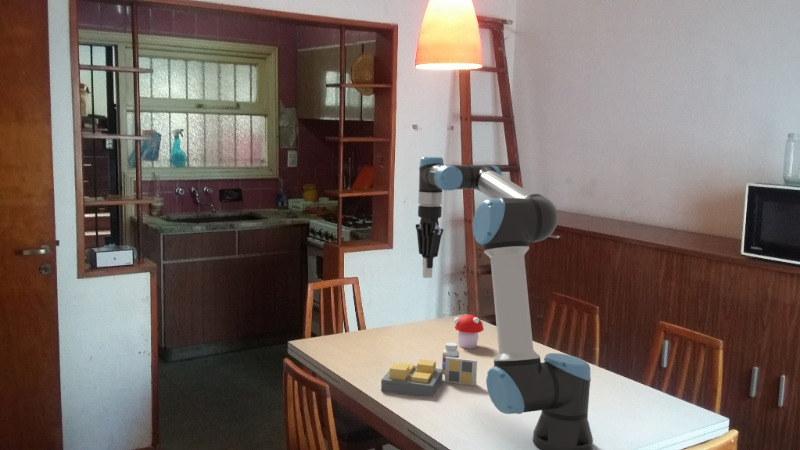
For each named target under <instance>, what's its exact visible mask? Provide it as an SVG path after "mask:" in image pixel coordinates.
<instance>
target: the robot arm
mask: <svg viewBox="0 0 800 450" xmlns="http://www.w3.org/2000/svg"><path fill="white" fill-rule="evenodd" d="M444 163H445V162H444V158H443V157H439V156H422V157H420V161H419V167H418V169H419V170H418V171H419V173H418V175H419V176H418V177H419V178H418V199H417V201H418V202H417V203H418V204H419V205H418V207H417V210H418V211H417V216H418V217H419V218H420V220H419V223H417V224H415V229H416V235H417V237H416V238H417V245H418V246H417V247H418V248H417V249H418V254H419V255H421V256H422V278H424V279H429V278H431V279H432V278H433V267H434V259H435V258H437V257H438V256H439V250H440V246H441V245H440V244H441V239H442V235H443V233H444V229H443V228H440V223H439V219H441V217H442V213H443V212H442V210H443V209H442V206H441V205H442V204H443V203H442V201H443V191H444V192H445V191H446V192H447V191H449V192H450V191H455V190H476V191H478V192H480V193H482V194H484V195H485V196H486V197H488V199H485V200H483V201H481V202H480V204H478V206H477V208H476V211H475V213H474V215H473V220H472V221H473V222H472V234H473V237H474V239H475V242H476V243H477V244H479V245H481V246H483V253H484V254H485V255H486V256H487V257H489V258H490V269H491V270H490V271H491V279H492V291H493V301H494V311H495V313H494V314H495V323H496V333H497V344H498V353H497V354H496V356H495V357H494V358H493V366H492V367H490V368H489V369H488V370H487V374H486V375H487V376H486V382H485V383H486V390H487V394H488V395H489V399H490V400H491V402H492V404H493V405H494V407H495V409H497V410H498V411H499V412H500V413H502V414H505V415H513V414H516V415H517V414H518V415H521V414H523V413H531V412H537V411H541V412H540V415H539V417H538V420H537V422H536V425H535V427H534V430H533V436H532V442H533V444H534V445H535V447H537V448H538V449H539V450H593V446H594V445H593V444H594V438H593V435H592V430H591V427H590V423H589V418H588V416H589V415H588V414H589V401H590V389H591V388H590V387H591V381H592V379H591V367H590V364H589V363H588V362H587V361H585V360H584V359H582V358H579V357H576V356H573V355H571V354H565V353H559V352H558V353H556V352H555V353H554V352H553V353H551V352H550V353H547V354H546V355H545V356H544V358H543V360H544V361H543V362H541V356H540V355H539V354H538V353H537V352H536V351H535V350H534V344H533V343H534V342H533V334H532V333H533V332H532V322H531V313H530V304H529V303H530V302H529V294H528V293H529V292H528V283H527V273H526V272H527V270H526V262H525V261H526V260H525V255H526V253H527V252H528V251H529V250H530V243H538V242H541V241H544V240H547V238H549V237H550V236H551V235H552V234H553V233H554V231H555V229H556V228H557V225H558V221H559V214H558V210H557V208H556V206H555V205H554V203H553V201H551V200H550V199H548V198H546V197H545V196H544V195H542V194H539V193H531V192H530V191H528V190H526V189H524V187H521V186H519V185H518V184H516V183H515V182H512V180H509V179H508V178H506V177H505V176H503V175H502V171H501V169H500V168H499V167H498V166H496V165H490V164H485V165H484V164H481V165H479V164H474V165H472V164H469V165H468V164H467V165H466V164H461V165H460V164H444Z"/></svg>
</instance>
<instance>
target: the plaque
mask: <svg viewBox="0 0 800 450" xmlns="http://www.w3.org/2000/svg"><path fill="white" fill-rule="evenodd" d="M477 371H478V359H470V358H461V357H459V358H453V357H446V360H445V374H444V383H451V384H452V383H453V384H460V385H467V386H468V385H469V386H476V385H477V376H478V375H477Z"/></svg>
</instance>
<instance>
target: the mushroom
mask: <svg viewBox="0 0 800 450" xmlns="http://www.w3.org/2000/svg"><path fill="white" fill-rule="evenodd" d="M453 321H454V323H455V326H454V329H455V330H456V331H458V333H457V340H458V342H457V343H458V346H459V347H460V348H463V349H475V348H477V346H478V340H479V333H481V332H483V331H484V330H485V329H484V325H483V321H482V320H481V319H480V318H479V317H478V316H477V315H473V314H464V315H462V316H460V317H455V318H454V320H453Z"/></svg>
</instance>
